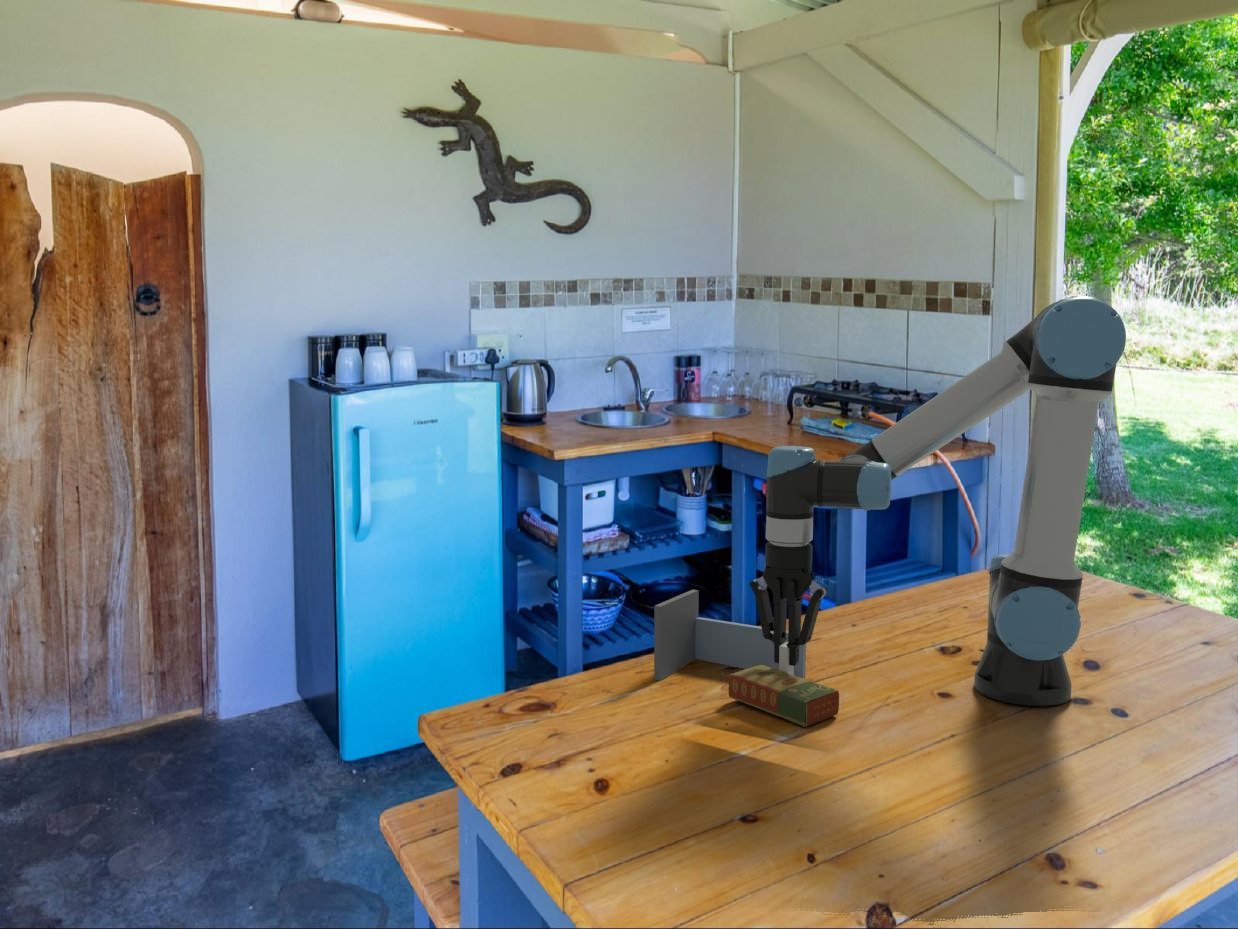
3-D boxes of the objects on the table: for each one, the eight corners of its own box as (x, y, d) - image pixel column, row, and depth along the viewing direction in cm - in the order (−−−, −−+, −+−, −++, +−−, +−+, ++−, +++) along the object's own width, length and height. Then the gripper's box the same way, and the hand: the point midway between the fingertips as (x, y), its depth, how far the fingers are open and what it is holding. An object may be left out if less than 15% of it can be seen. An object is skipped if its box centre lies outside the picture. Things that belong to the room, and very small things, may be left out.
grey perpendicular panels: (805, 678, 182) (806, 605, 181) (772, 702, 170) (773, 623, 169) (692, 658, 194) (693, 589, 192) (654, 679, 182) (654, 605, 180)
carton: (761, 687, 176) (762, 662, 175) (840, 715, 164) (841, 688, 163) (727, 698, 170) (728, 673, 170) (805, 728, 158) (806, 700, 158)
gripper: (835, 542, 170) (831, 683, 173) (761, 534, 177) (759, 670, 180) (818, 550, 164) (815, 696, 167) (742, 541, 171) (740, 682, 174)
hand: (786, 683), depth 173 cm, fingers closed
